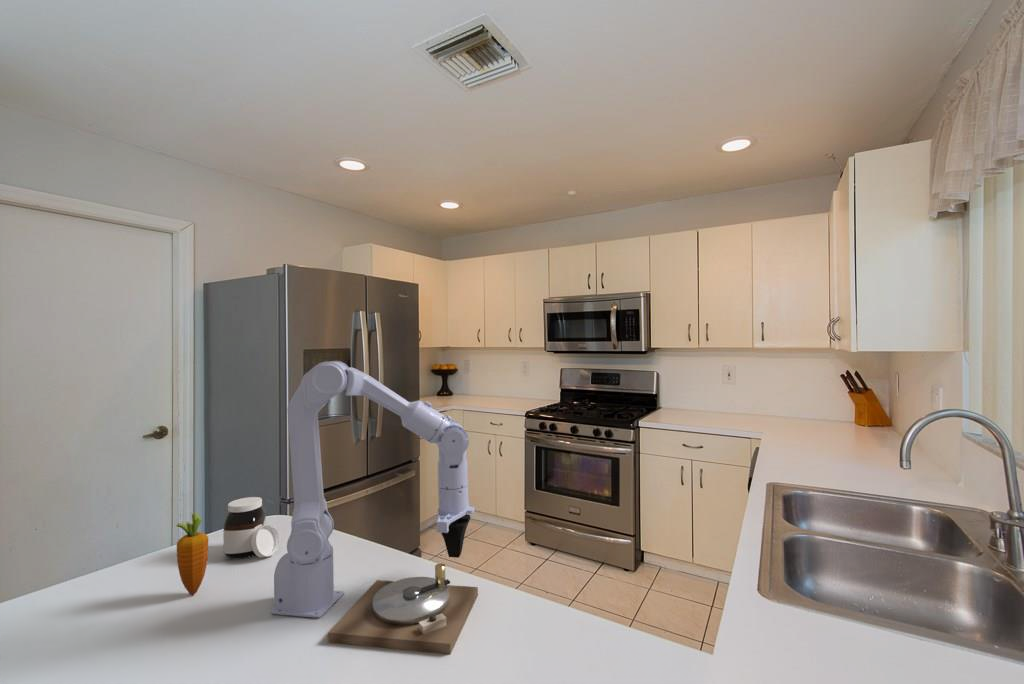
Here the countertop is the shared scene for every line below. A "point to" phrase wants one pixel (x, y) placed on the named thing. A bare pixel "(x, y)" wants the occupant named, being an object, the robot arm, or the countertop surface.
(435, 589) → the cam dial
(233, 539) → the spread jar
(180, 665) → the countertop surface
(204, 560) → the carrot
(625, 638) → the countertop surface
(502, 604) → the countertop surface
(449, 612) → the stand
